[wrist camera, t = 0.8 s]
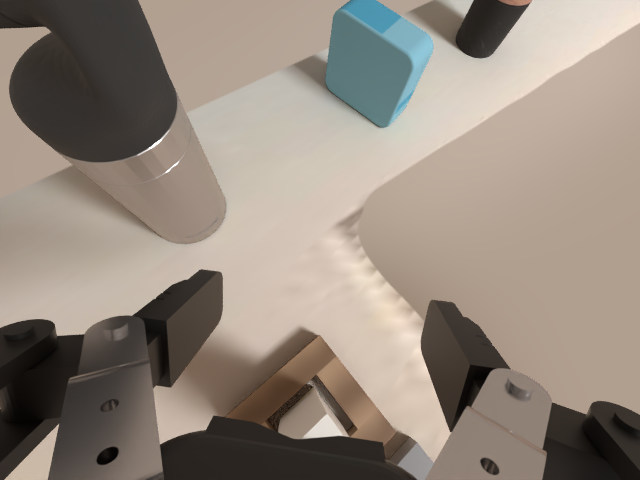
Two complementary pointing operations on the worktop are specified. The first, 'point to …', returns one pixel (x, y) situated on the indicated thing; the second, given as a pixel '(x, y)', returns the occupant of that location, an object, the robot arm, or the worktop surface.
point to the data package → (375, 59)
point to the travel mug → (488, 25)
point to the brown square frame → (336, 380)
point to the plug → (310, 419)
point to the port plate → (413, 459)
